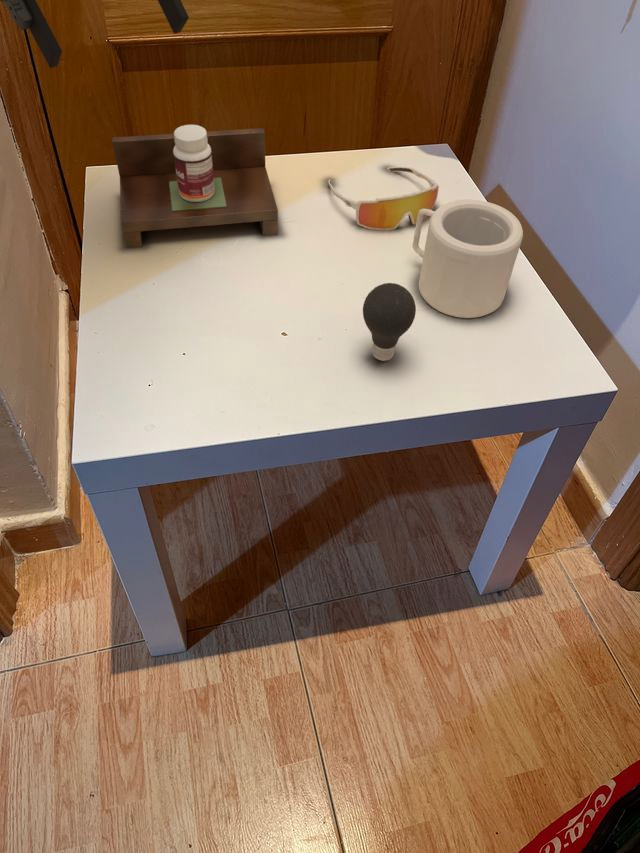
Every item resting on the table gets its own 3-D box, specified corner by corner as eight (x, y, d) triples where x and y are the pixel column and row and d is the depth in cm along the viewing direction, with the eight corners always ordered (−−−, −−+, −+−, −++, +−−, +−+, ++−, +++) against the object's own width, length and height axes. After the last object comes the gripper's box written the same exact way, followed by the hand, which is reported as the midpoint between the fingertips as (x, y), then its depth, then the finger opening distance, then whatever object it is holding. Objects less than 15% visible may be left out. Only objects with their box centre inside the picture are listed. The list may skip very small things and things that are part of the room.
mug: (520, 292, 87) (542, 224, 79) (470, 333, 82) (489, 264, 74) (435, 246, 92) (448, 177, 85) (383, 281, 87) (392, 212, 80)
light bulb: (395, 337, 81) (407, 267, 73) (414, 370, 77) (428, 301, 70) (350, 346, 79) (357, 276, 72) (367, 380, 76) (376, 311, 68)
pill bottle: (175, 186, 92) (167, 125, 85) (211, 181, 93) (205, 120, 87) (182, 205, 89) (174, 144, 83) (218, 200, 90) (213, 139, 84)
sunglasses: (360, 241, 92) (361, 206, 89) (316, 198, 102) (315, 164, 99) (451, 220, 96) (455, 185, 93) (399, 180, 106) (401, 147, 103)
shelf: (126, 249, 90) (113, 186, 83) (124, 198, 97) (112, 137, 90) (278, 236, 93) (277, 174, 86) (265, 187, 100) (263, 127, 93)
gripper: (115, -175, 70) (214, 32, 74) (-142, -146, 59) (-7, 95, 63) (134, -240, 63) (241, -8, 68) (-151, -222, 52) (0, 54, 57)
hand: (121, 42), depth 66 cm, fingers open, 13 cm apart
